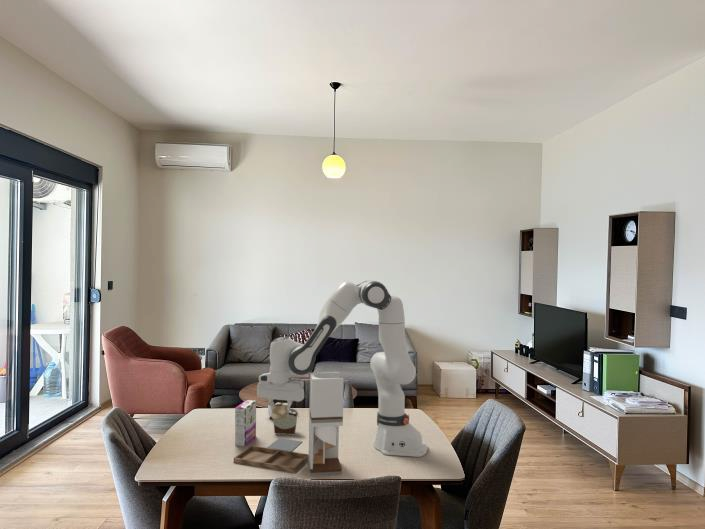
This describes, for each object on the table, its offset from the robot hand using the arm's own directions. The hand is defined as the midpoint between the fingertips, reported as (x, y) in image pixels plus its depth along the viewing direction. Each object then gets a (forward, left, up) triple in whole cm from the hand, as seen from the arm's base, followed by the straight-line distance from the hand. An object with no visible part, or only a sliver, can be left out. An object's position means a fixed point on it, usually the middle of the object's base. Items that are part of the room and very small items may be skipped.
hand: (280, 409), depth 186 cm
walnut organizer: (-3, +12, -16) cm, 20 cm away
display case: (-24, +10, -17) cm, 31 cm away
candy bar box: (+17, -2, -17) cm, 24 cm away
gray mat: (-1, -4, -16) cm, 17 cm away
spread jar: (+19, -37, -17) cm, 45 cm away
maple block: (0, 0, -3) cm, 3 cm away
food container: (+6, -19, -17) cm, 26 cm away
